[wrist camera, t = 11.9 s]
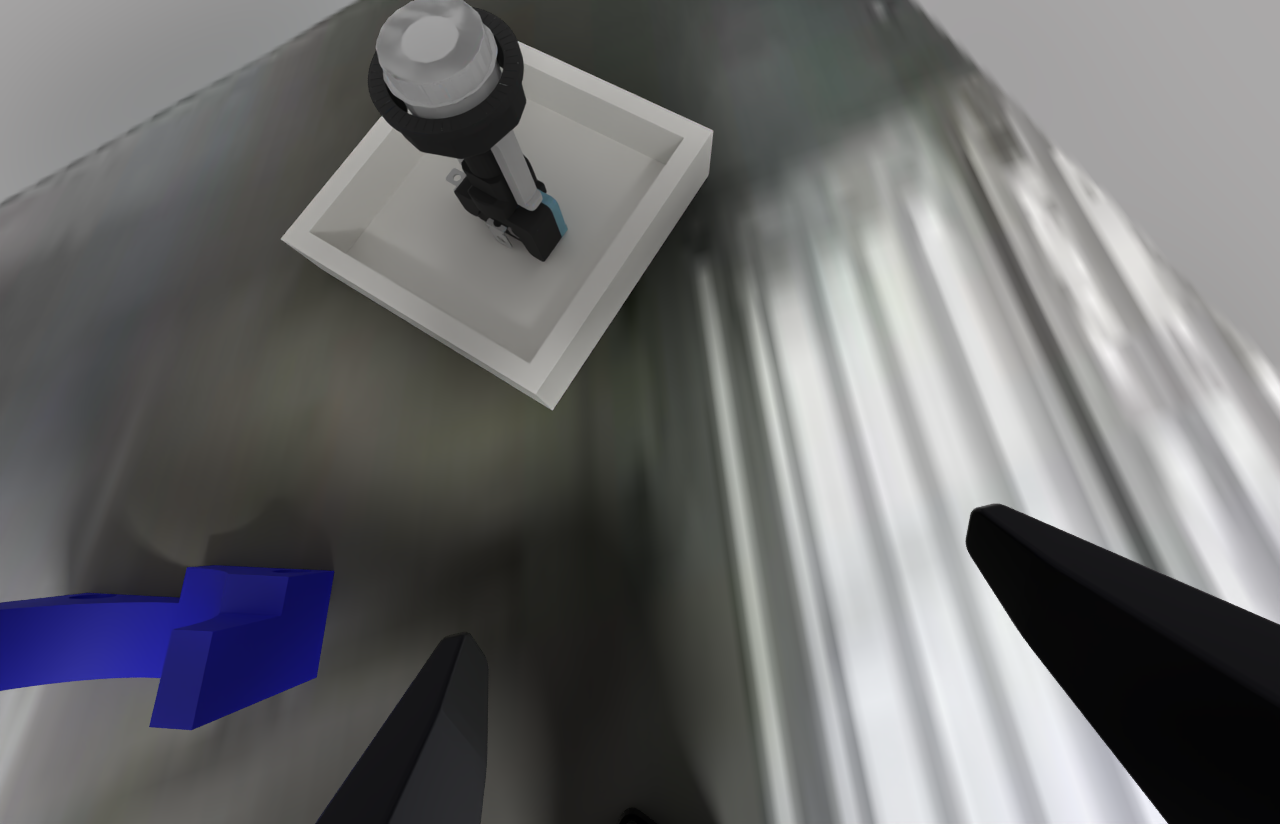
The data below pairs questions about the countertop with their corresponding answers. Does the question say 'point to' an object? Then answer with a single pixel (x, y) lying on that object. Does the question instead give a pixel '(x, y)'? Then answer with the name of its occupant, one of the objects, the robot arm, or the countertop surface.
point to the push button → (466, 112)
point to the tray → (486, 269)
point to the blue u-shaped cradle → (177, 639)
